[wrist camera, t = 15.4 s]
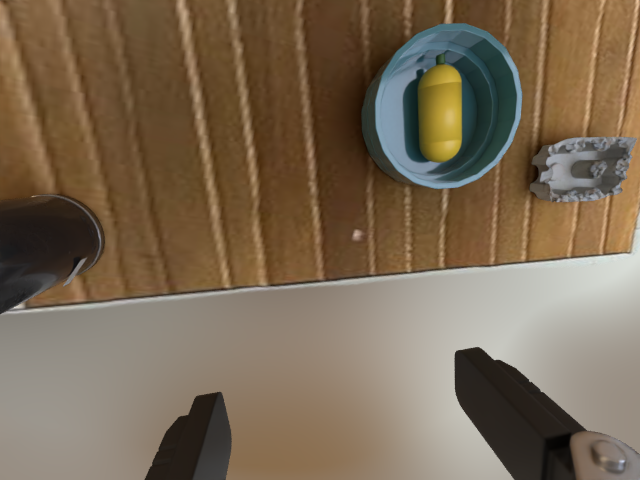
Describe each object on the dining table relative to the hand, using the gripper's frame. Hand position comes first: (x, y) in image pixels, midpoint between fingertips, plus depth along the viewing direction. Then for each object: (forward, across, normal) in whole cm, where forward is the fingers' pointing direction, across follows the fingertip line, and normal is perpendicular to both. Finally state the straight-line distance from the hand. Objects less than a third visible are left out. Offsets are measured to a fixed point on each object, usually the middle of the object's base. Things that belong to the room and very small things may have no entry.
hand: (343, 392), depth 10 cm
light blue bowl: (+28, -16, -11) cm, 34 cm away
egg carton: (+28, -35, -3) cm, 45 cm away
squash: (+27, -16, -11) cm, 34 cm away
